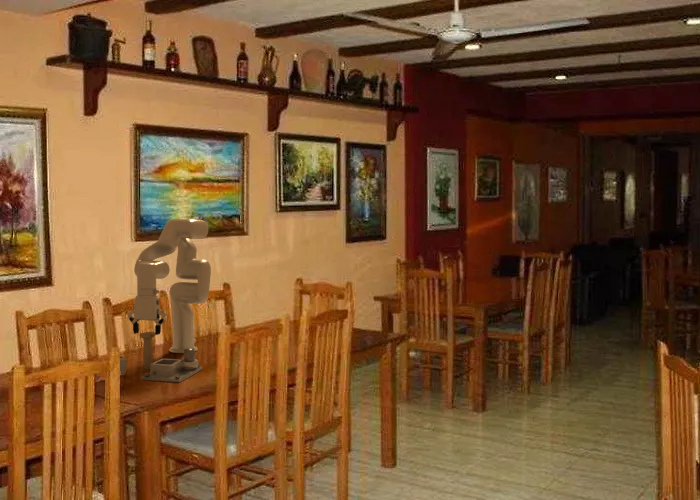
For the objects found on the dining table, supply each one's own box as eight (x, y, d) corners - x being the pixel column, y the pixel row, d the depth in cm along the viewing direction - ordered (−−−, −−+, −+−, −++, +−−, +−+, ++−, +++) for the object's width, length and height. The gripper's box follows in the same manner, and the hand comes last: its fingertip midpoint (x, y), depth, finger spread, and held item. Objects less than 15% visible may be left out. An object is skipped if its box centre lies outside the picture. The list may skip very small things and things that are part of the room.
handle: (138, 369, 325) (137, 333, 324) (150, 366, 331) (149, 331, 329) (146, 371, 323) (145, 335, 321) (158, 368, 328) (157, 332, 327)
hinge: (116, 372, 320) (122, 350, 318) (124, 377, 318) (130, 355, 316) (84, 381, 306) (90, 358, 303) (93, 387, 304) (99, 364, 301)
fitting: (167, 367, 330) (166, 345, 329) (202, 369, 326) (202, 347, 326) (141, 379, 309) (141, 356, 308) (179, 382, 305) (179, 359, 304)
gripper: (170, 292, 325) (170, 333, 326) (132, 290, 329) (132, 331, 330) (161, 294, 318) (162, 336, 319) (122, 292, 322) (123, 334, 323)
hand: (146, 333), depth 325 cm, fingers open, 9 cm apart
